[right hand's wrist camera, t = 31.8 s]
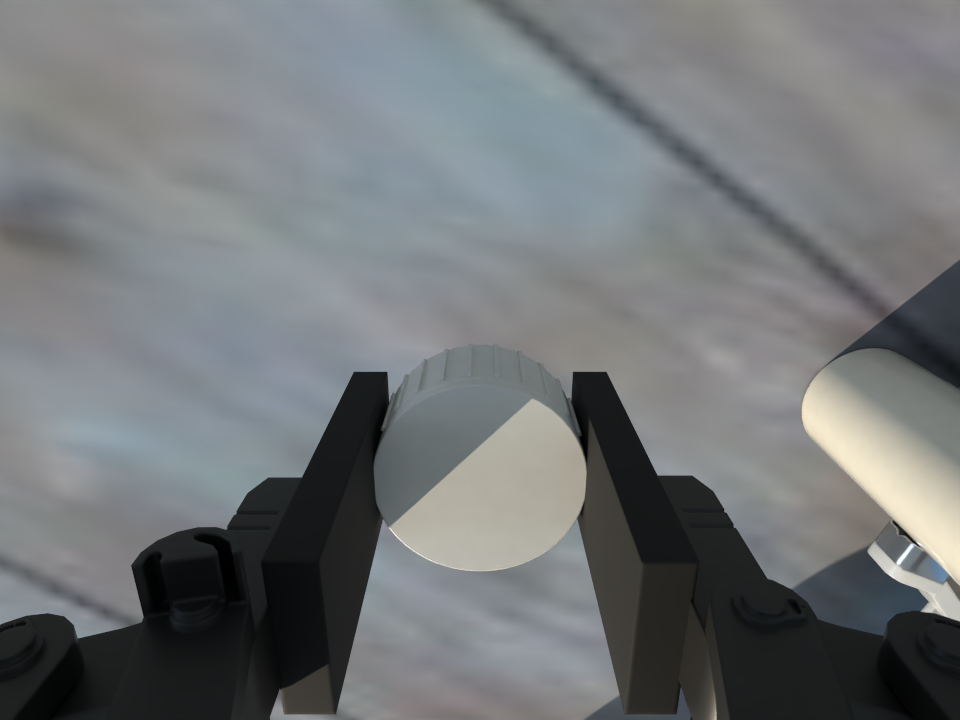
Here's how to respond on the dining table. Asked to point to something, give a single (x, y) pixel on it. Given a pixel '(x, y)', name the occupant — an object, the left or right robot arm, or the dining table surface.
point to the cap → (480, 460)
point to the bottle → (894, 442)
